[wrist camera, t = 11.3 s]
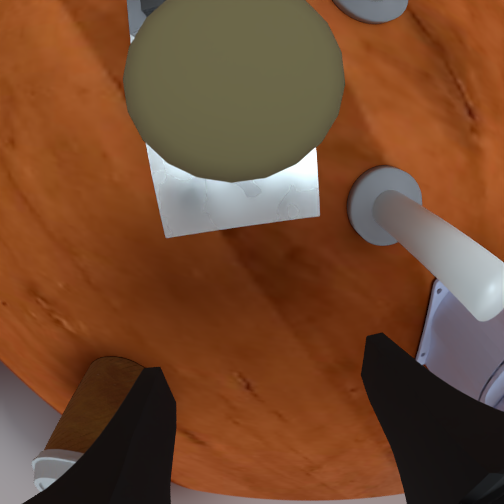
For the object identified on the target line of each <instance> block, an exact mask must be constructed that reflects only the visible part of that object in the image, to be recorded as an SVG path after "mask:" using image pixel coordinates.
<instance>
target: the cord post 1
mask: <svg viewBox="0 0 504 504" xmlns="http://www.w3.org/2000/svg"><path fill="white" fill-rule="evenodd" d="M332 1H333V2H334V3H335V5H336V6H337V7H338V8H339V9H340V10H341V11H343V12H344V13H345V14H347V15H348V16H350V17H351V18H353V19H355V20H358V21H360V22H364V23H369V24H381V23H385V22H387V21H390V20H392V19H395V18H397V17H399V16H400V15H401V14H402V13H403V12H404V11H405V9H406V7H407V4H408V0H332Z"/></svg>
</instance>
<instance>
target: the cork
mask: <svg viewBox="0 0 504 504" xmlns="http://www.w3.org/2000/svg"><path fill="white" fill-rule="evenodd" d="M123 83H124V90H125V97H126V103H127V110H128V113H129V115H130V117H131V118H132V120H133V122H134V124H135V126H136V128H137V130H138V132H139V134H140V135H141V137H142V139H143V141H144V142H146V143H147V144H148V145H149V146H150V147H151V148H152V149H153V150H154V151H155V152H156V153H157V154H158V155H159V156H160V157H161V158H163V159H164V160H165V161H166V162H167V163H168V164H170V165H172V166H174V167H176V168H179V169H181V170H183V171H185V172H187V173H189V174H191V175H193V176H195V177H197V178H203V179H210V180H216V181H223V182H229V183H234V182H241V181H248V180H255V179H263V178H267V177H269V176H271V175H274V174H276V173H278V172H280V171H283V170H285V169H287V168H289V167H291V166H294V165H296V164H297V163H299V162H300V161H301V160H302V159H303V158H304V157H305V156H307V155H308V154H309V153H310V152H311V151H312V150H313V149H315V148H316V147H317V146H318V145H319V144H320V143H321V142H322V141H323V139H324V137H325V136H326V134H327V132H328V131H329V129H330V128H331V126H332V124H333V123H334V121H335V119H336V118H337V116H338V113H339V109H340V104H341V100H342V95H343V91H344V86H345V79H344V70H343V61H342V53H341V50H340V48H339V46H338V44H337V42H336V40H335V38H334V35H333V33H332V31H331V29H330V27H329V25H328V23H327V22H326V21H325V20H324V19H323V18H322V17H321V16H320V15H319V14H318V13H317V12H316V11H315V10H314V9H313V8H312V7H311V6H310V5H309V4H308V3H307V2H306V1H305V0H166V1H165V2H163V3H162V4H161V5H160V6H159V7H158V8H157V9H155V10H154V11H153V12H152V13H151V14H150V15H149V16H148V17H147V18H146V19H145V21H144V22H143V24H142V26H141V27H140V29H139V31H138V32H137V34H136V36H135V38H134V39H133V41H132V43H131V45H130V47H129V51H128V55H127V60H126V65H125V71H124V76H123Z"/></svg>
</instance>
